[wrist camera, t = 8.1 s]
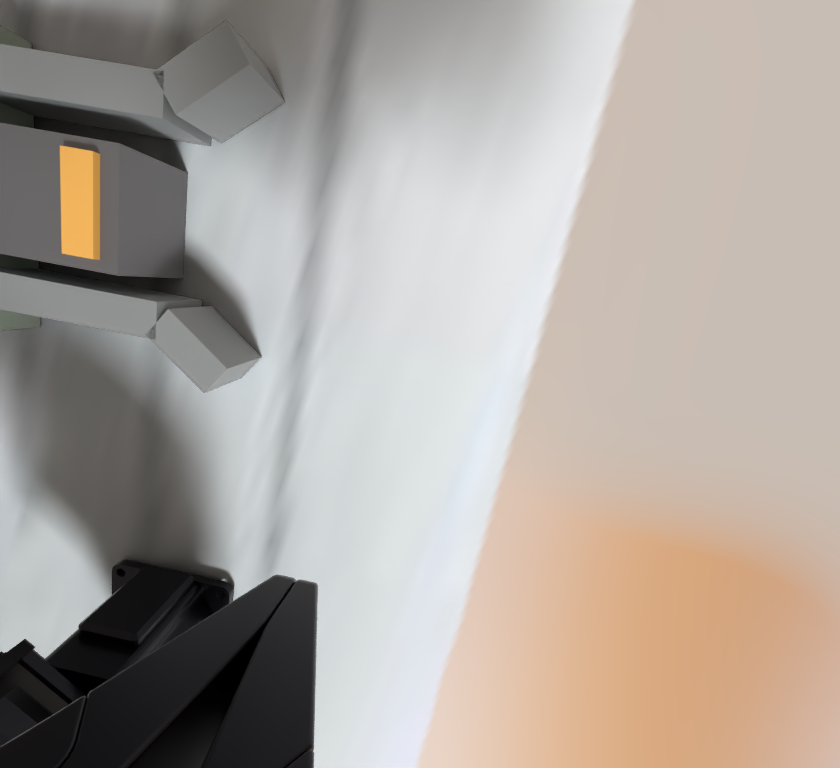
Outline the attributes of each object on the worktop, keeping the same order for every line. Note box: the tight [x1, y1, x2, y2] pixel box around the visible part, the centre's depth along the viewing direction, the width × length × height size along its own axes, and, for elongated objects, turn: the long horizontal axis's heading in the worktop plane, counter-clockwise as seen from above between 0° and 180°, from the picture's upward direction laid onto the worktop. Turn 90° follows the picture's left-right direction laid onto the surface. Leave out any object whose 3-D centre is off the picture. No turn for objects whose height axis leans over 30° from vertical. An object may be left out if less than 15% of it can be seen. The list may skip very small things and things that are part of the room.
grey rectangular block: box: [0, 123, 188, 278], centre depth 17 cm, size 4×7×4 cm, turn 80°
